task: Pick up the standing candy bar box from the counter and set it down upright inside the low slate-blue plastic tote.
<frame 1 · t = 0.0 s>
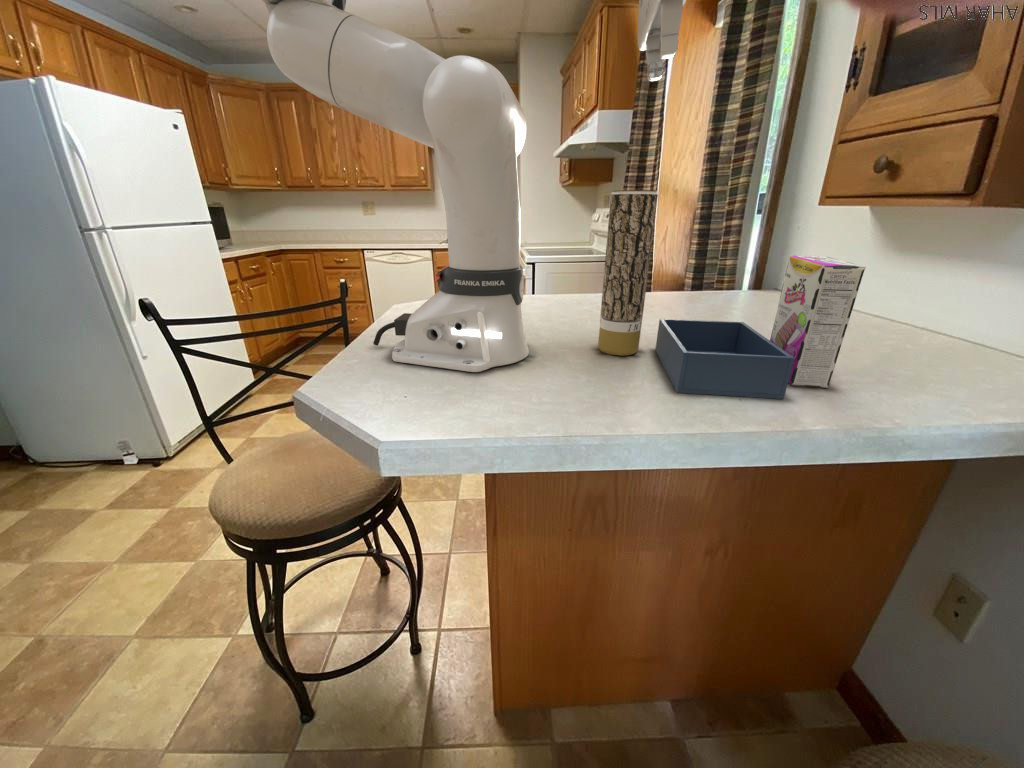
hand: (661, 68, 53), 39 cm above the countertop, tool pointing down, fingers open, 8 cm apart
tote: (710, 371, 64), on the countertop
paper tube: (617, 351, 73), on the countertop
candy bar box: (792, 374, 63), on the countertop
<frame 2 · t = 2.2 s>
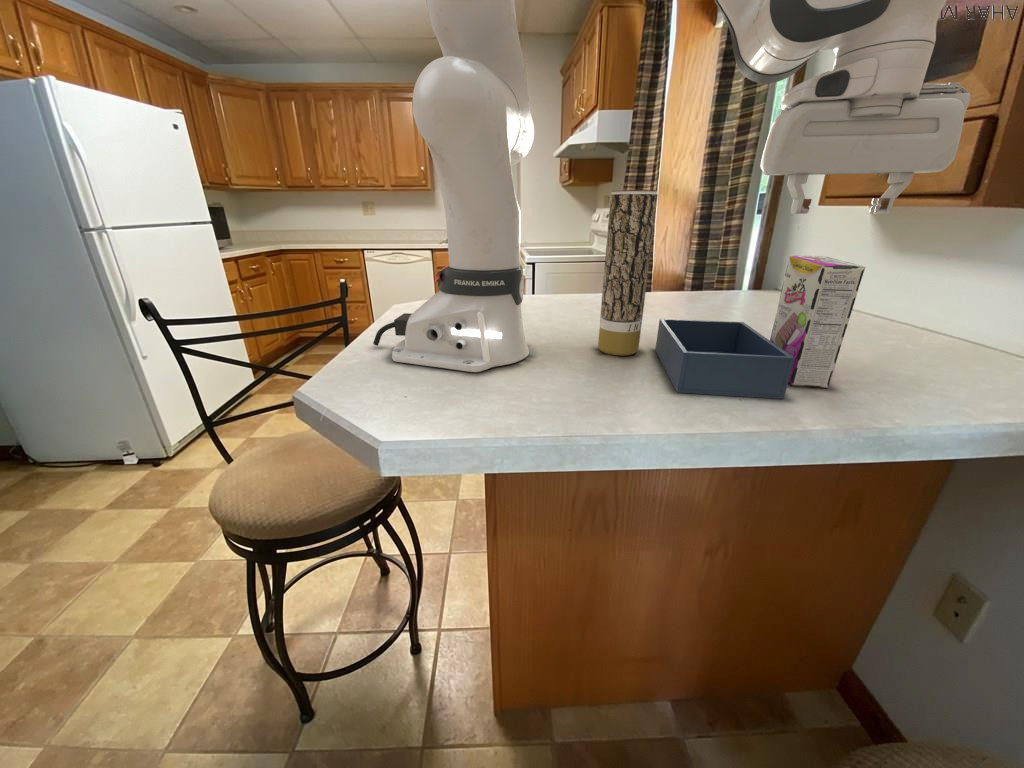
hand: (838, 213, 54), 22 cm above the countertop, tool pointing down, fingers open, 8 cm apart
nothing on the countertop moved.
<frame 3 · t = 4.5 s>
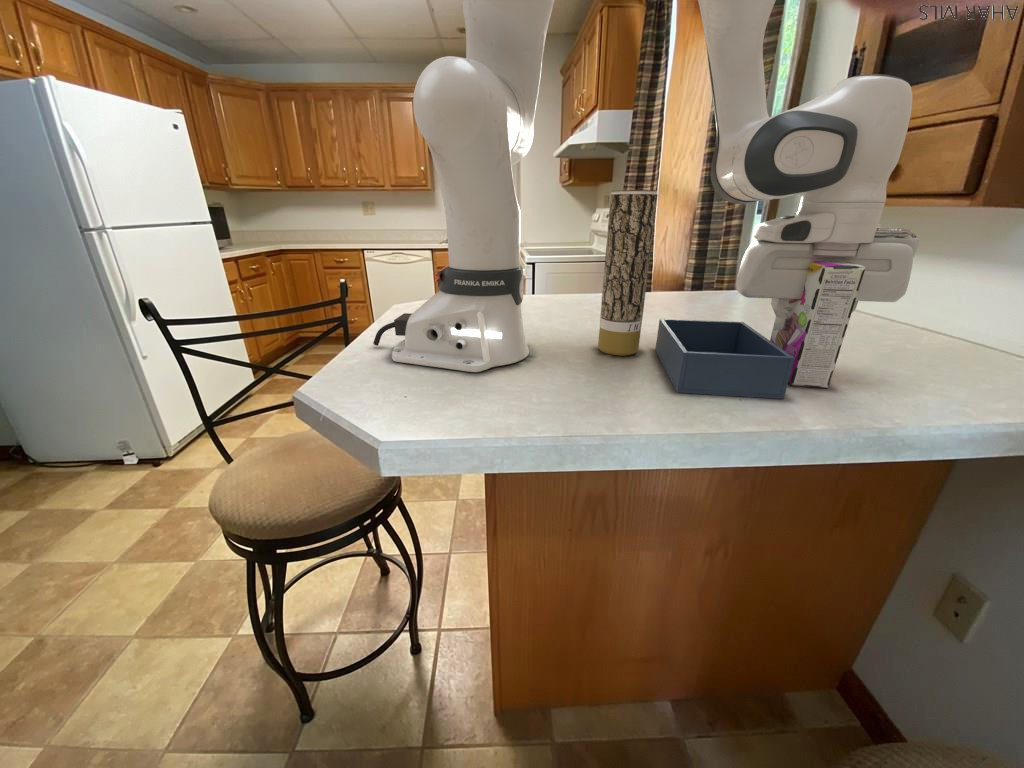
hand: (804, 330, 60), 7 cm above the countertop, tool pointing down, fingers closed on candy bar box, 5 cm apart
candy bar box: (792, 374, 63), on the countertop, touching gripper
everything else where it was.
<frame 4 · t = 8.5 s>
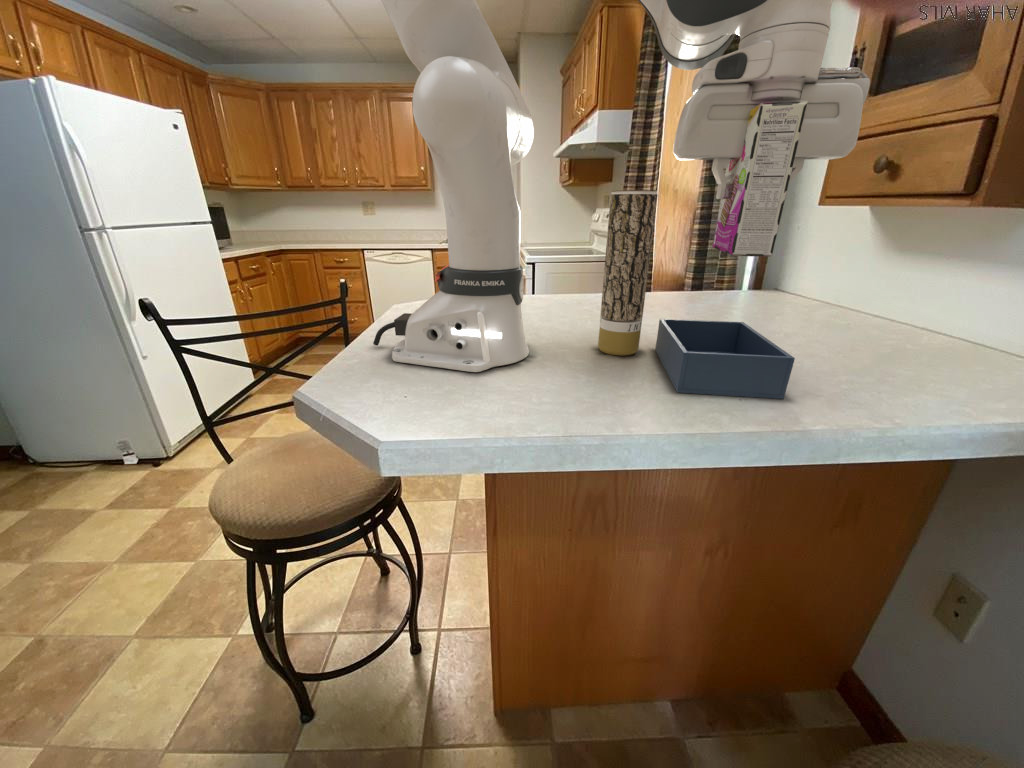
hand: (749, 199, 54), 24 cm above the countertop, tool pointing down, fingers closed on candy bar box, 5 cm apart
candy bar box: (737, 254, 57), point 17 cm above the countertop, touching gripper
everything else where it was.
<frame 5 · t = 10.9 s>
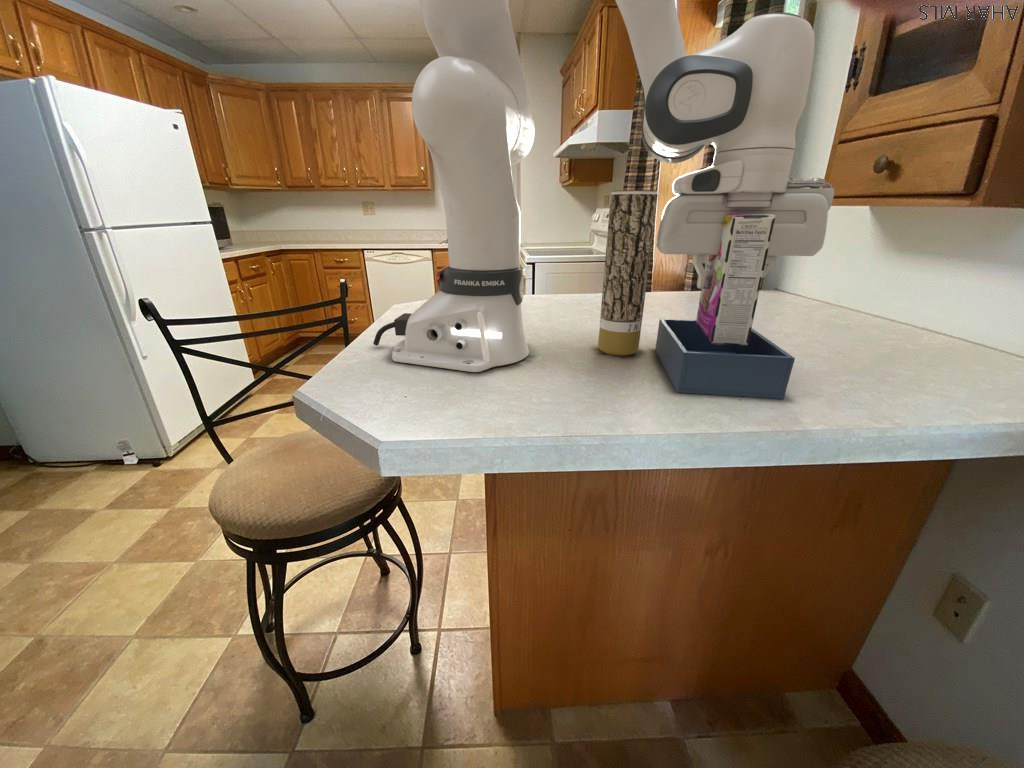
hand: (727, 288, 59), 12 cm above the countertop, tool pointing down, fingers closed on candy bar box, 5 cm apart
candy bar box: (718, 336, 61), point 6 cm above the countertop, touching gripper
everything else where it was.
when the fingers open (8 cm above the countertop, at t = 12.9 s): candy bar box stays where it is, resting on tote.
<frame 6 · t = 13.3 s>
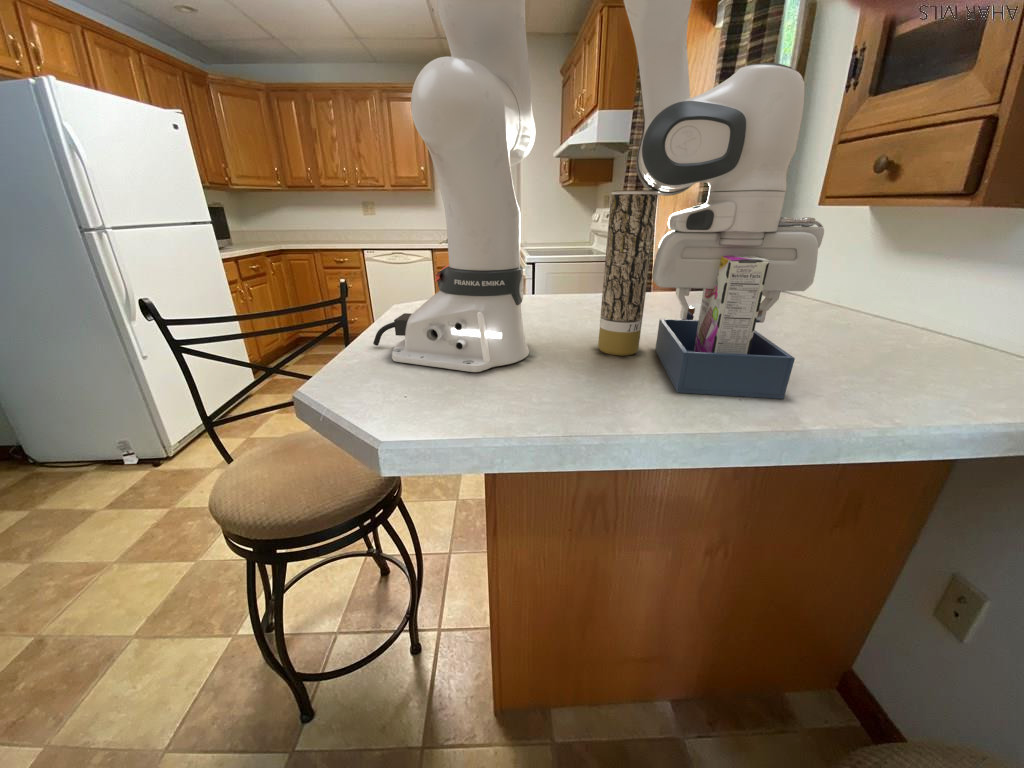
hand: (720, 320, 61), 8 cm above the countertop, tool pointing down, fingers open, 8 cm apart
candy bar box: (714, 369, 63), resting on tote
everything else where it was.
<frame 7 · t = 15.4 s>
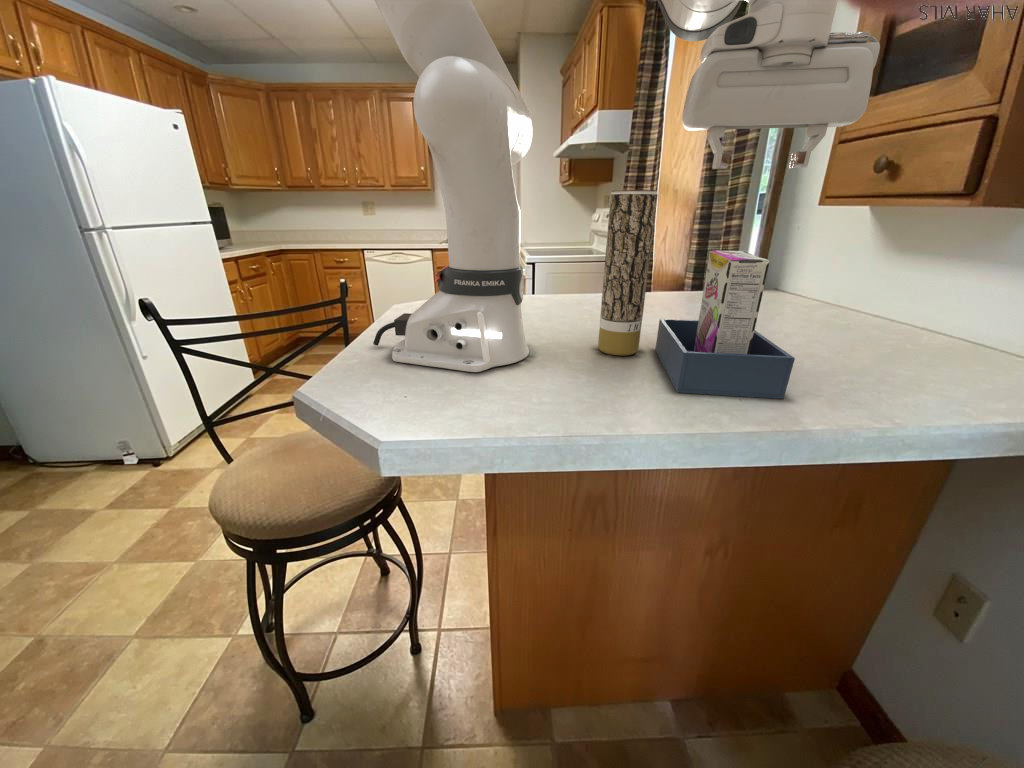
hand: (758, 168, 54), 27 cm above the countertop, tool pointing down, fingers open, 8 cm apart
nothing on the countertop moved.
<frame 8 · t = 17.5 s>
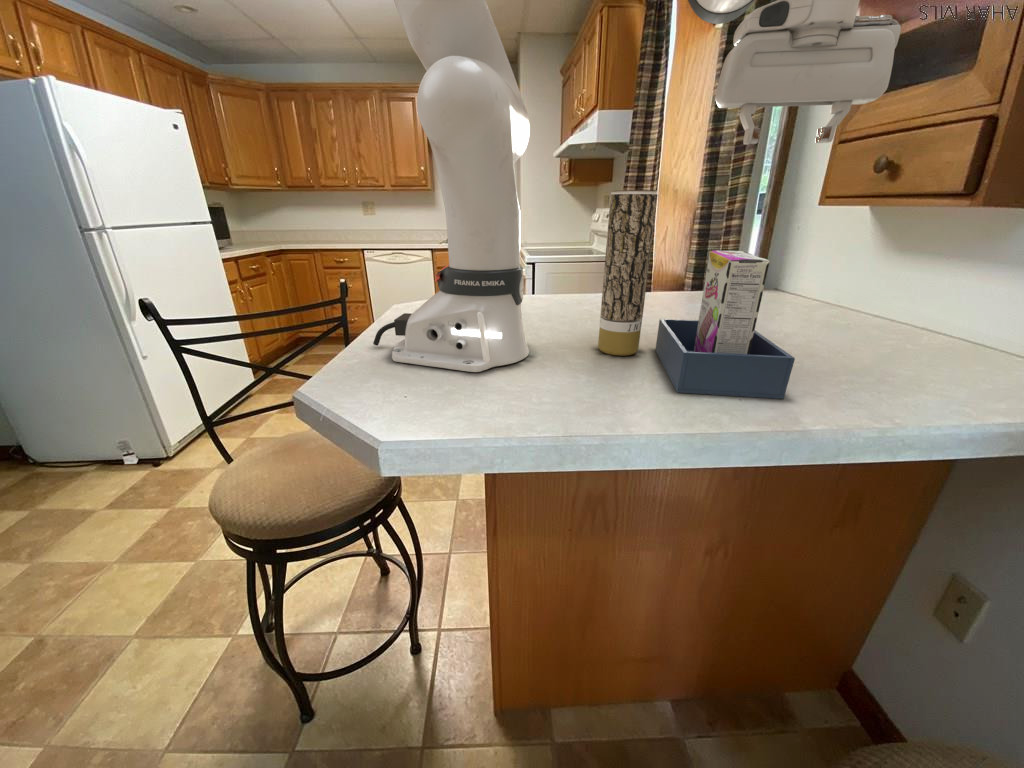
hand: (786, 143, 59), 31 cm above the countertop, tool pointing down, fingers open, 8 cm apart
nothing on the countertop moved.
at the end: candy bar box inside the target area in the tote (0.5 cm from its centre), point 0.4 cm above the tote's base; candy bar box tilted 0°; the gripper is holding nothing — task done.
